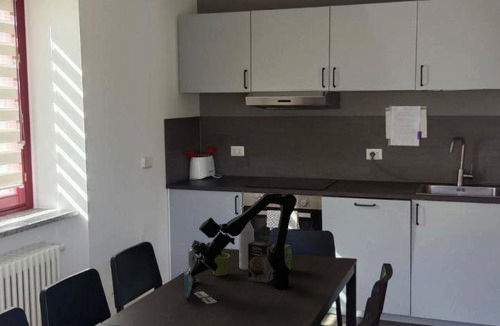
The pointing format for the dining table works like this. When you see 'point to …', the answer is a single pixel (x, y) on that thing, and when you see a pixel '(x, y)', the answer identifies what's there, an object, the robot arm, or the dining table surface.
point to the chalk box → (287, 256)
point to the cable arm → (188, 281)
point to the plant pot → (221, 264)
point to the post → (192, 263)
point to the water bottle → (245, 245)
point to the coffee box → (259, 261)
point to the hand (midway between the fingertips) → (191, 275)
